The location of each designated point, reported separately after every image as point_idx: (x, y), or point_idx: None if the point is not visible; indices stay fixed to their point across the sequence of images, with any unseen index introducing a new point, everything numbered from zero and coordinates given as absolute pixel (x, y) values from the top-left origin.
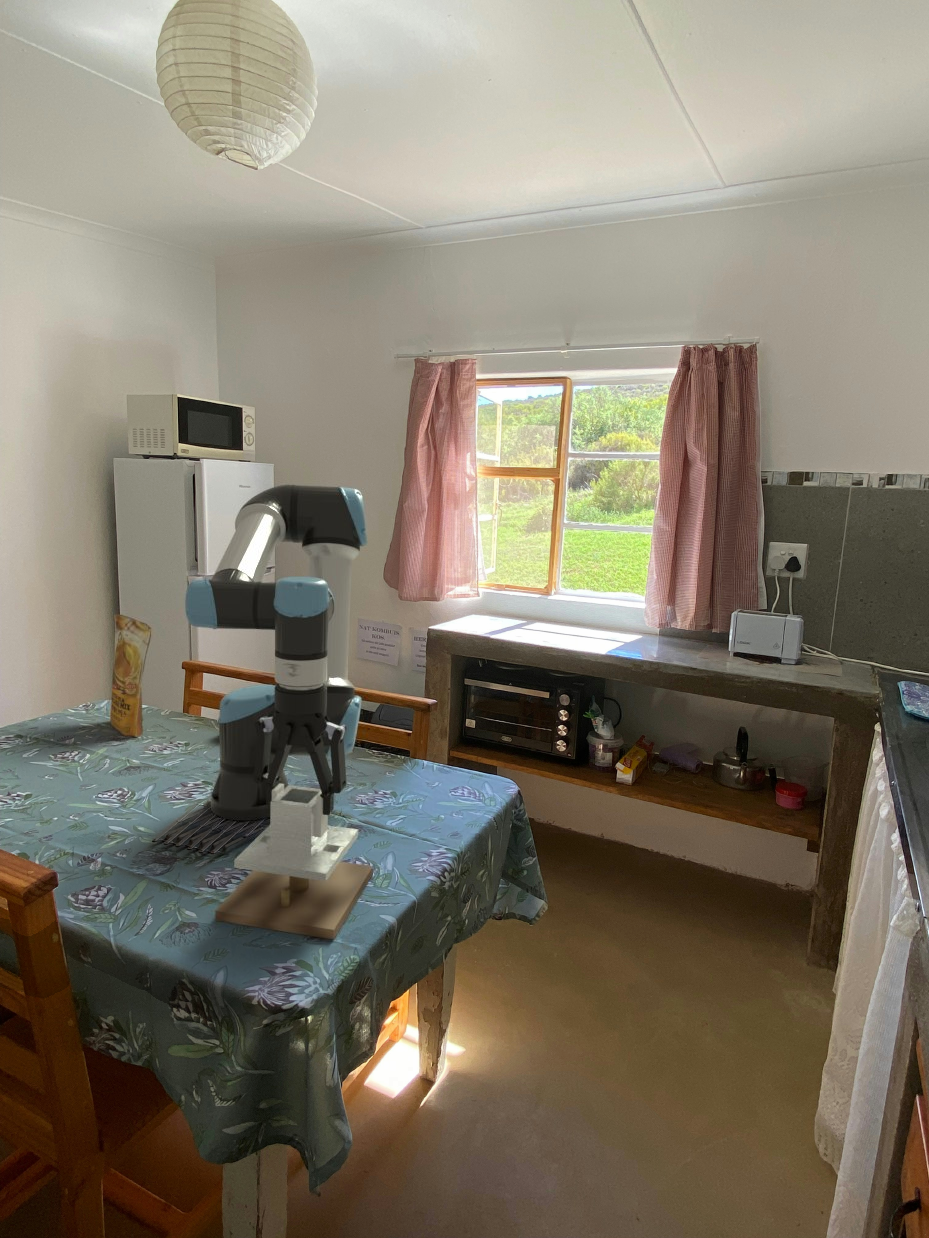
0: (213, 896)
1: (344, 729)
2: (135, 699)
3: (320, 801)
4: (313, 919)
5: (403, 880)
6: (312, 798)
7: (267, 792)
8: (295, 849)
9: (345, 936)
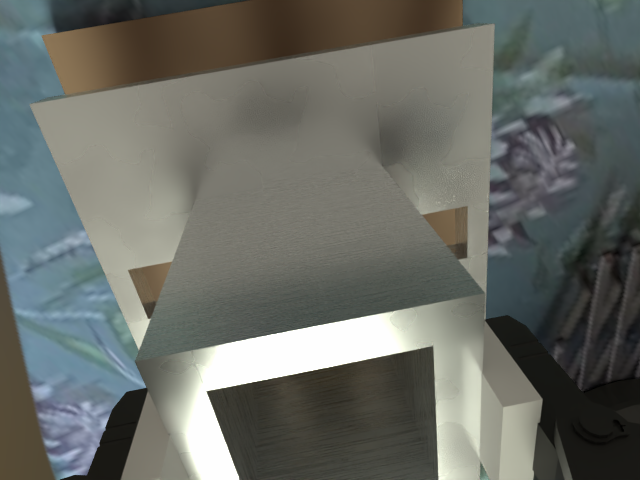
0: (514, 80)
1: None
2: None
3: (138, 446)
4: (142, 61)
5: (91, 355)
6: (297, 468)
7: (565, 384)
8: (266, 194)
9: (38, 66)
